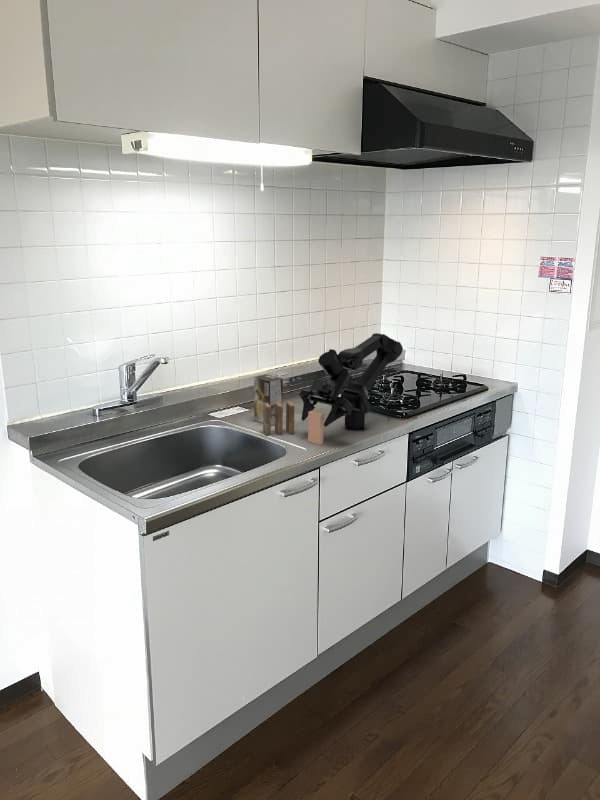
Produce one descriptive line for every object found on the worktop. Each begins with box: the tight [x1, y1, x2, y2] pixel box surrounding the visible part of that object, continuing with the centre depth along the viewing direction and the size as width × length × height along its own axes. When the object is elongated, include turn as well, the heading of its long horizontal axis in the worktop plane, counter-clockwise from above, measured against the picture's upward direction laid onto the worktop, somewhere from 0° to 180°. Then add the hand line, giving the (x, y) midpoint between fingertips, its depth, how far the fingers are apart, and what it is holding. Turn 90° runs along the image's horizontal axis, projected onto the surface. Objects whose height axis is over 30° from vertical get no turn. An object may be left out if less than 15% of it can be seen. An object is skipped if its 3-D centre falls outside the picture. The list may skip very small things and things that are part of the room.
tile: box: [307, 410, 325, 446], centre depth 212 cm, size 2×5×10 cm, turn 49°
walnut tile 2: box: [285, 401, 295, 435], centre depth 222 cm, size 2×5×10 cm, turn 15°
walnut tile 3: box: [274, 402, 284, 436], centre depth 221 cm, size 2×5×10 cm, turn 14°
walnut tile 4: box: [262, 403, 272, 437], centre depth 220 cm, size 2×5×10 cm, turn 14°
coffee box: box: [253, 374, 284, 426], centre depth 233 cm, size 9×6×16 cm
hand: (313, 423), depth 211 cm, fingers open, 9 cm apart
